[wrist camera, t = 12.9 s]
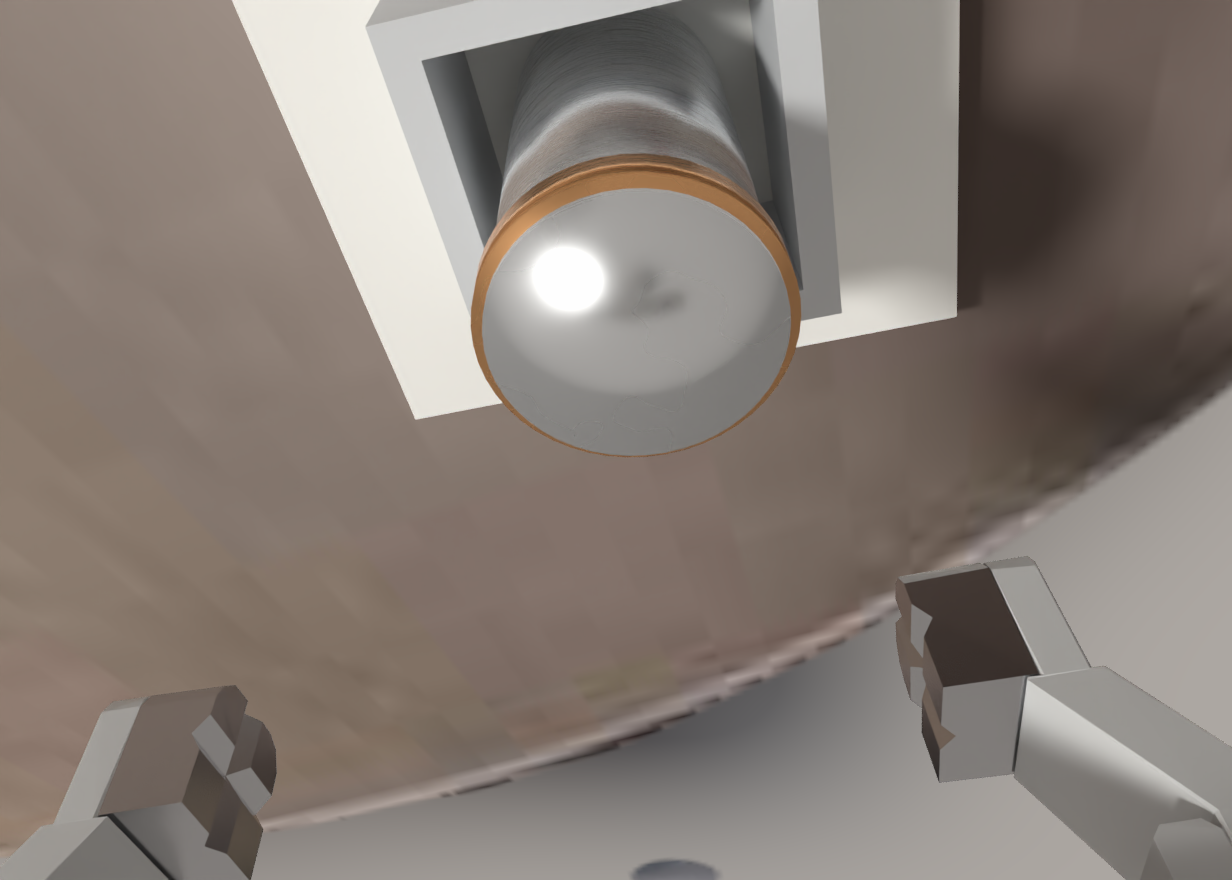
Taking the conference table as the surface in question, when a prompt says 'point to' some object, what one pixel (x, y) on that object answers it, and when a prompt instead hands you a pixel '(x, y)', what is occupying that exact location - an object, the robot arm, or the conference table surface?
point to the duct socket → (480, 129)
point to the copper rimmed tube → (630, 248)
